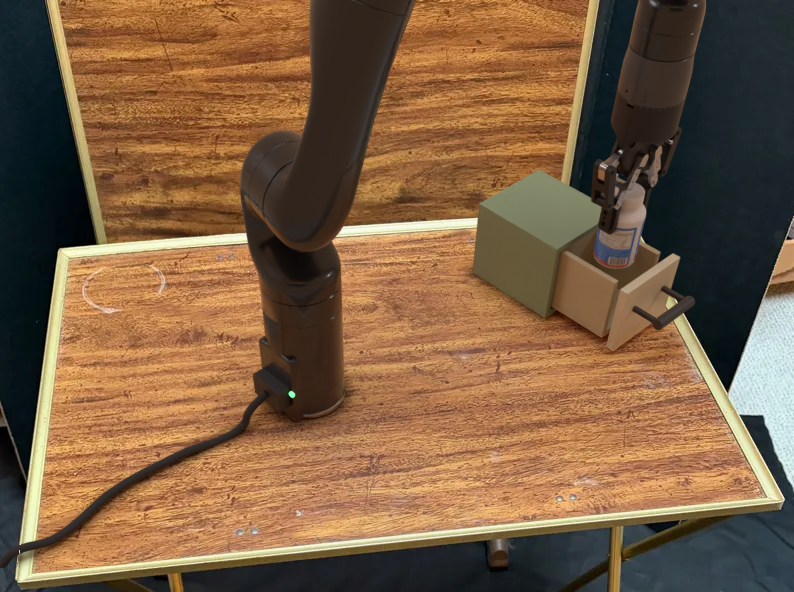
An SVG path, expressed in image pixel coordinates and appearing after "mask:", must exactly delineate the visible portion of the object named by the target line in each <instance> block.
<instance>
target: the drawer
mask: <svg viewBox="0 0 794 592" xmlns="http://www.w3.org/2000/svg"><path fill="white" fill-rule="evenodd" d="M597 232H598V228H597V229H596V230H594V231H593V232H591V233H589V234H588V235H586V236H585V237H583V238H581V239H580V240H578V241H577V242H575V243H574V244H572V245H570V246H569V247H567V248H566V249H564V250H563V251H561V252H560V256H559V261H558V267H557V272H556V278H555V283H554V289H553V294H552V300H551V305H550V306H551V307H553V308H555V309H556V310H557V312H559V313H561V314H562V315H564V316H566V317H567V318H568V319H571V320H572V321H574V322H575V323H577V324H579V325H580V326H582V327H584V328H585V329H587V330H588V331H590V332H592V333H593V334H595V335H596V336H598V337H599V338H601V339H602V338H604V337H605V336H606V335H608V337H607V341H606V344H605V345H606V346H605V348H607V349H608V350H609V351H612V352H614V351H616V350H617V349H618V348H620V347H621V346H623V345H624V344H625V343H627V342H628V341H630V340H631V339H632V338H634V337H635V336H636V335H638V334H639V333H640V332H642V331H643V330H645V329H646V328H647V327H649V326H650V325H652V327H653V329H654V330H656V331H662V330H664V328H666V327H667V326H668V325H670V324H671V323H672V322H674V321H676V319H678V318H679V317H680V316H682V315H683V314H685V313H686V312H688V311H689V310H690V309H691V308H693V307H694V306H695V304H696V300H695V298H694V297H693V296H692V295H686V296H684V295H682V294H680V293H678V292H677V291H675V290H673V289H672V287H673V283H674V281H675V280H674V279H675V276H676V274H677V270H678V267H679V264H680V260H681V256H679V255H677V254H675V253H671V254H669V255H668V256H667V257H665V258H664V259H662V260H661V261H659V259H660V257H661V251H660V250H658V249H656V248H654V247H652V246H651V245H649V244H647V243H645V241H644V242H643V241H642V240H640V242H639V246H638V251H637V255H636V258H635V261H634V262H633V264H632V265H630V266H629V267H626V268H623V269H611V268H607V267H604V266H602V265H601V264H599V263H598V262H597V261H596V259H595V257H594V247H595V242H596V237H597ZM669 297H671V298H672V299H674V300H676V301H677V302H676V303H675V304H674V305H672V306H671V307H669V309H667V310H666V307H667V303H668V300H669ZM665 310H666V311H665Z"/></svg>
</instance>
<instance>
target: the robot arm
mask: <svg viewBox="0 0 794 592" xmlns="http://www.w3.org/2000/svg"><path fill="white" fill-rule="evenodd" d="M416 2H417V0H309V11H308V12H309V13H308V14H309V15H308V40H309V41H308V42H309V44H308V45H309V46H308V47H309V66H310V67H309V68H310V90H309V91H310V92H309V102H308V108H307V114H306V119H305V123H304V126H303V129H302V133H301V134H300V133H298V132H297V131H293V130H286V129H285V130H284V129H283V130H275V131H271V132H269V133H266V134H265V135H263V136H261V137H260V138H258V139H257V141H255V143H254V144H253V145H252V146H251V147H250V149H249V150H248V152H247V153H246V156H245V157H244V159H243V162H242V166H241V168H240V169H241V170H240V175H239V196H240V204H241V211H242V217H243V222H244V223H243V224H244V230H245V235H246V242H247V246H248V251H249V255H250V258H251V260H252V261H251V262H252V263H253V266H254V268H255V270H256V273H257V278H258V284H259V292H260V300H261V310H262V318H263V319H262V320H263V329H264V335H263V336H261V337H259V338H258V347H259V348H258V349H259V355H260V363H261V368H260V369H258V370H257V371H255V372H254V373H252V380H253V387H254V393H255V394H256V395H257V396H256V397H255V398H254V399H253V400H252V401H251V402H250V403H249V405H248V406H247V407H246V409H244V412H243V415H242V418H241V420H240V422H239V423H238V424H237V425H236V426H234V427H233V428H232V429H230V430H228V431H227V432H226V433H224V434H221V435H219V436H217V437H214V438H211V439H208V440H205V441H201V442H198V443H195V444H192V445H189V446H187V447H184V448H182V449H180V450H178V451H176V452H174V453H172V454H170V455H167V456H166V457H163V458H162V459H160V460H159V459H158V461H155V462H153V463H152V464H149V465H147V466H145V467H144V468H141V469H140V470H138V471H136V472H134V473H133V474H131V475H129V476H127V477H125V478H124V479H122V480H121V481H120V482H118V483H115V484H114V485H113V486H111V487H110V488H109V489H107V490H106V491H105V492H104V493H102V494H101V495H99V497H97V498H96V499H95V500H93V501H92V503H90V504H89V505H88V506H87V507H86V508H85V509H84V510H83V511H81V513H80V514H79V515H78V516H77V517H76V518H74V519H73V520H72V521H70V522H69V523H68V524H67V525H65V526H64V527H63V528H61V529H59V530H58V531H56V532H55V533H52V534H51V535H49V536H46V537H44V538H40V539H36V540H32V541H27V542H24V543H20V544H21V545H20V544H17V545H15V546H13V547H12V548H9V550H7V551H6V552H5V553H4V554H3V556H2V557H1V558H0V569H4V568H6V567H7V566H8V565H9V564H10V563H11V561H13V559H14V558H16V557H17V556H20V555H22V554H24V553H28V552H31V551H36V550H39V549H45V548H47V547H50V546H53V545H55V544H57V543H59V542H60V541H62V540H64V539H66V537H69V536H70V535H72V534H73V533H74V532H75V531H77V530H78V529H79V528H81V526H82V525H84V523H86V522H87V521H88V520H89V519H90V518H91V517H92V516H93V515H94V514H95V513H96V512H97V511H98V510H99V509H101V507H103V506H104V505H105V504H106V503H107V502H109V501H110V500H111V499H113V498H115V496H117V495H118V494H120V493H121V492H123V491H124V490H126V489H128V488H129V487H131V486H132V485H134V484H136V483H137V482H139V481H141V480H143V479H144V478H146V477H149V476H151V475H152V474H154V473H156V472H158V471H160V470H162V469H164V468H166V467H168V466H170V465H172V464H174V463H176V462H178V461H180V460H182V459H184V458H187V457H188V456H191V455H194V454H196V453H200V452H203V451H206V450H209V449H211V448H214V447H215V446H218V445H220V444H222V443H225V442H228V441H230V440H232V439H234V438H236V437H237V436H239V435H241V434H242V433H243V432H244V431H245V430H246V429H247V428H248V427H249V426H250V422H251V418H252V416H253V414H254V413H255V412H256V410H257V409H258V408H259V407H260V406H261V405H262V404H263V403H264V402H266V403H267V404H268V405H269V406H271V407H272V408H273V409H274V410H275V411H276V412H278V413H284V414H285V415H286V416H287V417H288V418H290V419H291V420H292V421H294V422H295V423H298V422H300V421H301V420H303V419H314V418H321V417H323V416H326V415H329V414H330V413H332V412H334V411H335V410H337V409H338V408H339V407H340V406H341V405H342V403H343V402H344V400H345V397H346V393H347V391H346V390H347V388H346V381H345V357H344V356H345V351H344V350H345V349H344V321H343V320H344V319H343V318H344V317H343V285H342V284H343V281H342V264H341V259H340V255H339V252H338V249H336V246H335V244H334V242H333V241H334V240H335V238H337V236H338V235H339V234H340V233H341V231H342V229H343V228H344V227H345V224H346V223H347V220H348V219H349V216H350V214H351V211H352V209H353V205H354V203H355V199H356V195H357V192H358V187H359V183H360V179H361V175H362V171H363V167H364V163H365V159H366V154H367V151H368V147H369V142H370V139H371V134H372V132H373V127H374V124H375V120H376V117H377V114H378V111H379V107H380V105H381V102H382V99H383V96H384V93H385V90H386V87H387V84H388V81H389V77H390V74H391V71H392V68H393V65H394V62H395V59H396V57H397V54H398V51H399V47H400V44H401V42H402V39H403V36H404V33H405V31H406V29H407V26H408V24H409V22H410V19H411V17H412V14H413V11H414V9H415V6H416ZM637 2H638V3H637V6H636V10H635V13H634V17H633V24H632V28H631V33H630V37H629V43H628V46H627V50H626V52H625V54H624V57H623V62H622V66H621V70H620V75H619V78H618V84H617V89H616V93H615V98H614V99H615V100H614V105H613V108H612V113H611V118H610V123H611V128H612V129H613V131H614V133H615V137H616V140H615V143H614V145H613V147H612V150H611V153H610V156H609V157H608V158H607V159H605V160H602V159H600V158H597V159H596V160H595V162H594V163H593V166H592V181H591V194H590V195H591V196H590V198H591V202H592V203H594V204H597V205H598V206H600V207H602V208H601V213H600V218H599V222H598V227H599V229H600V230H602V231H604V232H605V233H607V234H609V235H611V234H612V233H614V232H615V231H616V228H617V223H618V219H619V215H620V210H621V207H620V206H621V204H622V202H623V200H624V197H625V195H626V193H627V192H628V191H631V190H632V189H633V187H634V184H635V183H637V184H639V185H641V186H642V187H643V188H644V190H645V196H644V201H643V205H644V206H645V208H646V210H648V209H647V208H648V205H649V201H650V197H651V194H652V189H653V188H654V187H655V186H656V185H657V183H658V181H659V179H658V178H659V177H662V178H663V177H665V176H666V174H667V172H668V170H669V167H670V166H671V161H672V159H673V157H674V154H675V152H676V148H677V145H678V144H679V143H678V142H679V140H680V137H681V135H682V131H683V128H681V127H679V124H680V122H681V121H680V120H681V117H682V113H683V109H684V106H685V101H686V98H687V94H688V90H689V86H690V83H691V79H692V74H693V69H694V63H695V61H694V60H695V56H696V55H695V54H696V50H697V46H698V42H699V38H700V34H701V31H702V27H703V23H704V19H705V15H706V10H707V0H638V1H637ZM661 156H663V159H662V162H661ZM619 175H620V176H623V177H624V178H626V179H627V180H624V179H621V178H620V177H619ZM615 186H616V187H618V188H619V191H618V194H617V196H616V197H615V196H614V195H615ZM19 550H20V554H19Z"/></svg>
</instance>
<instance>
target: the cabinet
mask: <svg viewBox="0 0 794 592" xmlns="http://www.w3.org/2000/svg"><path fill="white" fill-rule="evenodd" d="M601 208H602V207H600V206H598V205H597V204H594V203H592V202H591V196H588V195H587V194H585V193H583V192H581V191H579V190H578V189H576V188H574V187H572V186H570V185H568V184H566V183H565V182H563V181H561V180H559V179H558V178H556V177H554V176H552V175H550V174H548V173H546V172H544V171H543V170H541V169H537V170H536V171H534V172H532V173H530V174H528V175H526V176H524V177H523V178H521V179H520V180H518V181H516V182H514V183H513V184H511V185H509V186H507V187H506V188H504V189H502V190H500V191H499V192H497V193H495V194H493V195H492V196H489V197H488V198H486V199H485V200H483V201H481V202H479V203H478V211H477V222H476V233H475V243H474V252H473V262H472V274H474V275H475V276H477V277H479V278H480V279H482V280H483V281H485V282H487V283H488V284H490V285H491V286H493V287H495V288H496V289H497V290H499V291H501V292H502V293H504V294H505V295H507V296H509V297H510V298H512V299H513V300H515V301H517V302H518V303H520V304H521V305H523V306H525V307H526V308H527V309H529V310H531V311H532V312H534V313H535V314H538V316H540V317H542V318H543V319H547V318H548V317H549V316H551V315H552V314H554V313H556V312H558V310H556V309H555V308H553V307H551V306H550V305H551V300H552V294H553V289H554V283H555V278H556V272H557V267H558V261H559V256H560V252H561V251H563V250H564V249H566V248H567V247H569V246H570V245H572V244H574V243H575V242H577V241H578V240H580V239H581V238H583V237H585V236H586V235H588V234H589V233H591V232H593V231H594V230H596V229H597V228H599V227H598V222H599V218H600V213H601Z"/></svg>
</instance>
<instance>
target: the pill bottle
mask: <svg viewBox="0 0 794 592" xmlns="http://www.w3.org/2000/svg"><path fill="white" fill-rule="evenodd" d="M618 191H619V188H618V187H616V186H615V195H614V196H615V197H616V196H617V194H618ZM644 196H645V190H644V188H643V187H642V186H641V185H639V184H637V183H635V184H634V187H633V189H632V190H631V191H628V192H627V193H626V195H625V197H624V200H623V202H622V204H621V206H620V207H621V210H620V215H619V219H618V223H617V228H616V231H615V232H614V233H612V234H611V235H609V234H607V233H605V232H604V231H602V230H600V229H599V228H598V232H597V237H596V242H595V247H594V257H595V259H596V261H597V262H598V263H599V264H601V265H602V266H604V267H607V268H611V269H623V268H626V267H629V266H630V265H632V264H633V262H634V261H635V258H636V255H637V251H638V246H639V242H640V241H641V237H642V233H643V229H644V227H645V225H644V224H645V222H646V217H647V209H646V208H645V206H644V205H643V201H644Z"/></svg>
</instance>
